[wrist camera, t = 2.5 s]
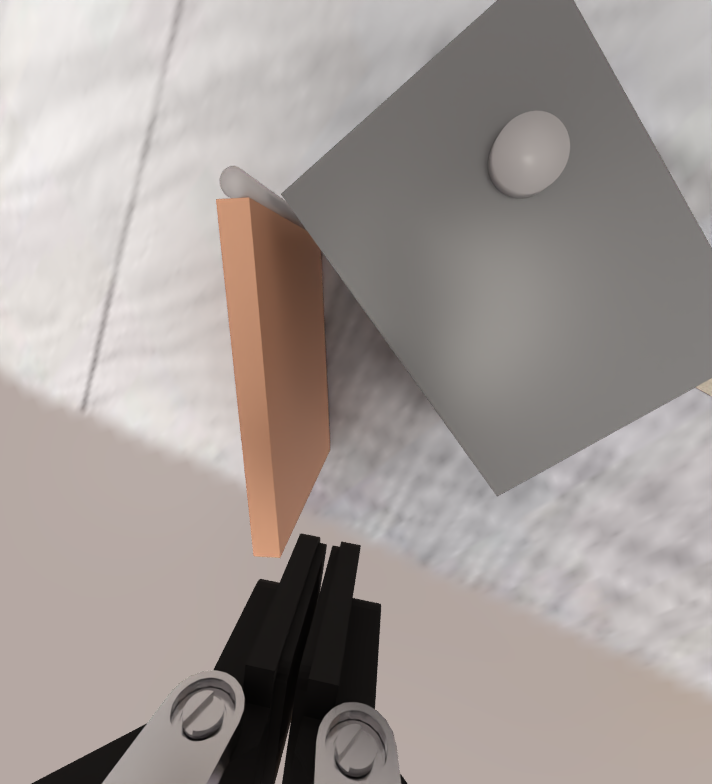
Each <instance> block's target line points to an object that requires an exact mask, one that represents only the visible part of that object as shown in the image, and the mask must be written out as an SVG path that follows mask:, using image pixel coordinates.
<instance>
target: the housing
mask: <svg viewBox="0 0 712 784" xmlns="http://www.w3.org/2000/svg"><path fill="white" fill-rule="evenodd" d="M281 195H282V196H283V198H284V199H285V201H286V202H287V203H288V205H289V206H290V208H291V209H292V210H293V212H294V213H295V215H296V216H297V217H298V219H299V220H300V222H301V223H302V224H303V226H304V227H305V229H306V230H307V231H308V233H309V234H310V236H311V237H312V238H313V240H314V241H315V243H316V244H317V245H318V247H319V248H320V250H321V251H322V252H323V254H324V255H325V257H326V258H327V259H328V261H329V262H330V263H331V265H332V266H333V268H334V269H335V270H336V272H337V273H338V275H339V276H340V277H341V279H342V280H343V282H344V283H345V284H346V286H347V287H348V289H349V290H350V291H351V293H352V294H353V296H354V297H355V298H356V300H357V301H358V303H359V304H360V305H361V307H362V308H363V310H364V311H365V312H366V314H367V315H368V317H369V318H370V319H371V321H372V322H373V324H374V325H375V326H376V328H377V329H378V331H379V332H380V333H381V335H382V336H383V338H384V339H385V340H386V342H387V343H388V345H389V346H390V347H391V349H392V350H393V352H394V353H395V354H396V356H397V357H398V359H399V360H400V361H401V363H402V364H403V366H404V367H405V368H406V370H407V371H408V373H409V374H410V375H411V377H412V378H413V380H414V381H415V382H416V384H417V385H418V387H419V388H420V389H421V391H422V392H423V394H424V395H425V396H426V398H427V399H428V401H429V402H430V403H431V405H432V406H433V407H434V409H435V410H436V412H437V413H438V414H439V416H440V417H441V419H442V420H443V421H444V423H445V424H446V426H447V427H448V428H449V430H450V431H451V433H452V434H453V435H454V437H455V438H456V440H457V441H458V442H459V444H460V445H461V447H462V448H463V449H464V451H465V452H466V454H467V455H468V456H469V458H470V459H471V461H472V462H473V463H474V465H475V466H476V468H477V469H478V470H479V472H480V473H481V475H482V476H483V477H484V479H485V480H486V482H487V483H488V484H489V486H490V487H491V489H492V490H493V491H494V493H495V494H496V496H499V495H501V494H503V493H505V492H506V491H508V490H510V489H512V488H514V487H516V486H517V485H519V484H521V483H523V482H525V481H526V480H528V479H530V478H532V477H534V476H535V475H537V474H539V473H541V472H543V471H545V470H546V469H548V468H550V467H552V466H554V465H555V464H557V463H559V462H561V461H563V460H564V459H566V458H568V457H570V456H572V455H574V454H575V453H577V452H579V451H581V450H583V449H584V448H586V447H588V446H590V445H592V444H593V443H595V442H597V441H599V440H601V439H603V438H604V437H606V436H608V435H610V434H612V433H613V432H615V431H617V430H619V429H621V428H622V427H624V426H626V425H628V424H630V423H632V422H633V421H635V420H637V419H639V418H641V417H642V416H644V415H646V414H648V413H650V412H651V411H653V410H655V409H657V408H659V407H661V406H662V405H664V404H666V403H668V402H670V401H671V400H673V399H675V398H677V397H679V396H680V395H682V394H684V393H686V392H688V391H690V390H691V389H693V388H695V387H697V386H699V385H700V384H702V383H704V382H706V381H708V380H709V379H711V378H712V248H711V246H710V244H709V242H708V240H707V239H706V237H705V235H704V233H703V232H702V230H701V228H700V226H699V224H698V223H697V221H696V219H695V217H694V215H693V214H692V212H691V210H690V208H689V206H688V205H687V203H686V201H685V199H684V197H683V196H682V194H681V192H680V190H679V188H678V187H677V185H676V183H675V181H674V180H673V178H672V176H671V174H670V172H669V171H668V169H667V167H666V165H665V163H664V162H663V160H662V158H661V156H660V154H659V153H658V151H657V149H656V147H655V145H654V144H653V142H652V140H651V138H650V136H649V135H648V133H647V131H646V129H645V128H644V126H643V124H642V122H641V120H640V119H639V117H638V115H637V113H636V111H635V110H634V108H633V106H632V104H631V102H630V101H629V99H628V97H627V95H626V93H625V92H624V90H623V88H622V86H621V84H620V83H619V81H618V79H617V77H616V76H615V74H614V72H613V70H612V68H611V67H610V65H609V63H608V61H607V59H606V58H605V56H604V54H603V52H602V50H601V49H600V47H599V45H598V43H597V41H596V40H595V38H594V36H593V34H592V32H591V31H590V29H589V27H588V25H587V24H586V22H585V20H584V18H583V16H582V15H581V13H580V11H579V9H578V7H577V6H576V4H575V2H574V0H497V1H496V2H495V3H494V4H493V5H492V6H490V7H489V8H488V9H487V10H486V11H485V12H484V13H483V14H481V15H480V16H479V17H478V18H477V19H476V20H475V21H474V22H473V23H471V24H470V25H469V26H468V27H467V28H466V29H465V30H464V31H462V32H461V33H460V34H459V35H458V36H457V37H456V38H455V39H454V40H452V41H451V42H450V43H449V44H448V45H447V46H446V47H445V48H444V49H442V50H441V51H440V52H439V53H438V54H437V55H436V56H435V57H433V58H432V59H431V60H430V61H429V62H428V63H427V64H426V65H425V66H423V67H422V68H421V69H420V70H419V71H418V72H417V73H416V74H414V75H413V76H412V77H411V78H410V79H409V80H408V81H407V82H406V83H404V84H403V85H402V86H401V87H400V88H399V89H398V90H397V91H396V92H394V93H393V94H392V95H391V96H390V97H389V98H388V99H387V100H385V101H384V102H383V103H382V104H381V105H380V106H379V107H378V108H377V109H375V110H374V111H373V112H372V113H371V114H370V115H369V116H368V117H366V118H365V119H364V120H363V121H362V122H361V123H360V124H359V125H358V126H356V127H355V128H354V129H353V130H352V131H351V132H350V133H349V134H348V135H346V136H345V137H344V138H343V139H342V140H341V141H340V142H339V143H337V144H336V145H335V146H334V147H333V148H332V149H331V150H330V151H329V152H327V153H326V154H325V155H324V156H323V157H322V158H321V159H320V160H318V161H317V162H316V163H315V164H314V165H313V166H312V167H311V168H310V169H308V170H307V171H306V172H305V173H304V174H303V175H302V176H301V177H300V178H298V179H297V180H296V181H295V182H294V183H293V184H292V185H291V186H289V187H288V188H287V189H286V190H285V191H284V192H283V193H282V194H281Z"/></svg>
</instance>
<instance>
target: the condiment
mask: <svg viewBox="0 0 712 784" xmlns="http://www.w3.org/2000/svg"><path fill="white" fill-rule="evenodd" d="M696 388H698V389H699V390H701V391H703V392H705V393H707V394H708V395H710V396H712V378H711V379H709V380H708V381H706V382H704V383H702V384H700V385H699V386H697V387H696Z"/></svg>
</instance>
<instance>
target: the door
mask: <svg viewBox="0 0 712 784" xmlns="http://www.w3.org/2000/svg"><path fill="white" fill-rule="evenodd" d="M220 186H221V189H222V191H223V192H224V194H225V195H227V196H228V197H230V199H216V204H217V213H218V223H219V232H220V242H221V251H222V260H223V270H224V279H225V289H226V298H227V308H228V317H229V327H230V336H231V346H232V355H233V365H234V374H235V384H236V393H237V403H238V412H239V422H240V431H241V440H242V450H243V459H244V469H245V478H246V488H247V497H248V507H249V516H250V525H251V535H252V544H253V554H254V556H258V557H275V558H280V557H281V555H282V553H283V551H284V548H285V546H286V544H287V542H288V540H289V538H290V536H291V533H292V531H293V529H294V527H295V525H296V523H297V520H298V518H299V516H300V514H301V512H302V510H303V508H304V505H305V503H306V501H307V499H308V497H309V495H310V492H311V490H312V488H313V486H314V484H315V482H316V480H317V477H318V475H319V473H320V471H321V469H322V467H323V464H324V462H325V460H326V458H327V456H328V454H329V452H330V434H329V413H328V391H327V369H326V348H325V326H324V305H323V283H322V261H321V250H320V248H319V247H318V245H317V244H316V243H315V241H314V240H313V238H312V237H311V236H310V234H309V233H308V231H307V230H306V229H305V227H304V226H303V224H302V223H301V222H300V220H299V219H298V217H297V216H296V215H295V213H294V212H293V210H292V209H291V208H290V206H289V205H288V203H287V202H286V201H285V200H283V199H282V198H280V197H279V196H278V195H276V194H275V193H274V192H272V191H271V190H269V189H268V188H267V187H265V186H264V185H263V184H261V183H260V182H258V181H257V180H256V179H254V178H253V177H251V176H250V175H249V174H247V173H246V172H245V171H243V170H242V169H240V168H239V167H236V166H230V167H227V168H226V169H225V170H224V171H223V172H222V174H221V176H220Z"/></svg>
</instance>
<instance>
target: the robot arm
mask: <svg viewBox="0 0 712 784" xmlns="http://www.w3.org/2000/svg"><path fill="white" fill-rule="evenodd" d="M326 547H327V545H326V544H323V543H320V537H316V536H311V535H306V534H300V536H299V538H298V540H297V543H296V545H295V548H294V550H293V552H292V555H291V557H290V560H289V562H288V564H287V567H286V569H285V571H284V574H283V576H282V579H281V581H280V583H278V582H273V581H268V580H264V579H260V580H259V581H258V582H257V584H256V586H255V588H254V590H253V592H252V594H251V596H250V598H249V600H248V602H247V604H246V606H245V608H244V610H243V612H242V614H241V616H240V618H239V620H238V622H237V624H236V626H235V628H234V630H233V632H232V634H231V636H230V638H229V640H228V642H227V644H226V646H225V648H224V650H223V652H222V654H221V656H220V658H219V660H218V662H217V664H216V666H215V668H214V670H213V671H203V672H200V673H197V674H194V675H191V676H190V677H188V678H187V679H185V680H183V681H182V682H180V683H179V684H178V685H177V686H176V687H175V688H174V689H173V690H172V692H171V693H170V694H169V695H168V696H167V698H166V699H165V700H164V702H163V703H162V705H161V706H160V707H159V708H158V710H157V711H156V712H155V714H154V715H153V716H152V718H151V719H150V720H149V722H148V723H147V724H145V725H143V726H141V727H139V728H137V729H135V730H133V731H132V732H130V733H128V734H126V735H124V736H122V737H120V738H118V739H116V740H114V741H112V742H110V743H109V744H107V745H105V746H103V747H101V748H99V749H97V750H95V751H93V752H91V753H89V754H87V755H85V756H84V757H82V758H80V759H78V760H76V761H74V762H72V763H70V764H68V765H66V766H64V767H62V768H61V769H59V770H57V771H55V772H53V773H51V774H49V775H47V776H46V777H43V778H41V779H39V780H38V781H36V782H34V783H32V784H275V780H276V777H277V773H278V769H279V765H280V761H281V757H282V753H283V750H284V746H285V741H286V738H287V734H288V730H289V726H290V732H289V739H288V746H287V753H286V760H285V767H284V774H283V781H282V784H407V782H406V781H405V780H404V778H403V777H402V775H401V774H400V770H399V763H398V754H397V746H396V742H395V739H394V735H393V731H392V729H391V728H390V726H389V724H388V722H387V721H386V719H385V718H384V717H383V716H382V715H381V714H380V713H379V712H378V711H377V710H375V699H376V682H377V666H378V649H379V634H380V616H381V604H379V603H374V602H369V601H364V600H360V599H355V598H353V591H354V585H355V579H356V572H357V566H358V560H359V553H360V547H361V545H356V544H351V543H346V542H341V545H340V547H338V546H333V547H332V550H331V553H330V557H329V561H328V564H327V568H326V572H325V576H324V579H323V583H322V587H321V581H322V574H323V567H324V561H325V554H326ZM320 587H321V590H320ZM290 722H291V725H290Z"/></svg>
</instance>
